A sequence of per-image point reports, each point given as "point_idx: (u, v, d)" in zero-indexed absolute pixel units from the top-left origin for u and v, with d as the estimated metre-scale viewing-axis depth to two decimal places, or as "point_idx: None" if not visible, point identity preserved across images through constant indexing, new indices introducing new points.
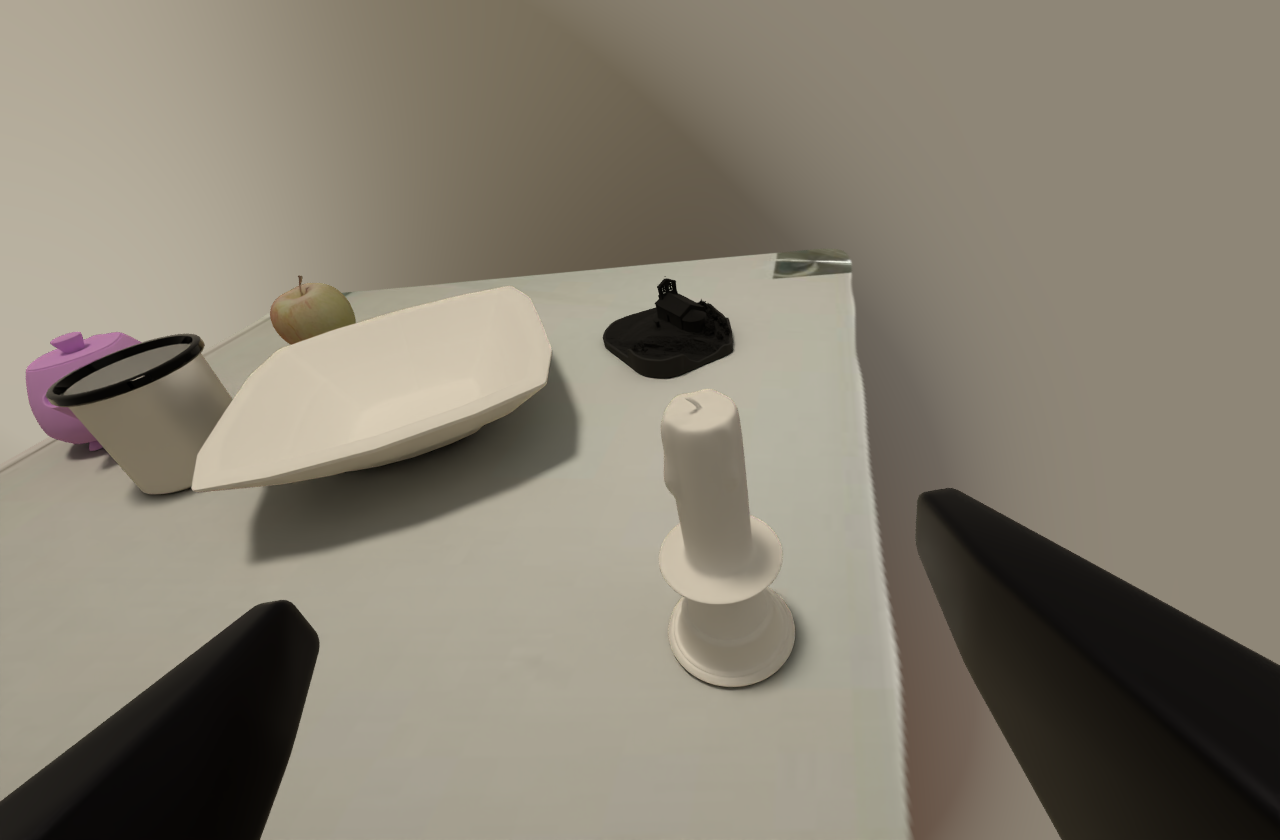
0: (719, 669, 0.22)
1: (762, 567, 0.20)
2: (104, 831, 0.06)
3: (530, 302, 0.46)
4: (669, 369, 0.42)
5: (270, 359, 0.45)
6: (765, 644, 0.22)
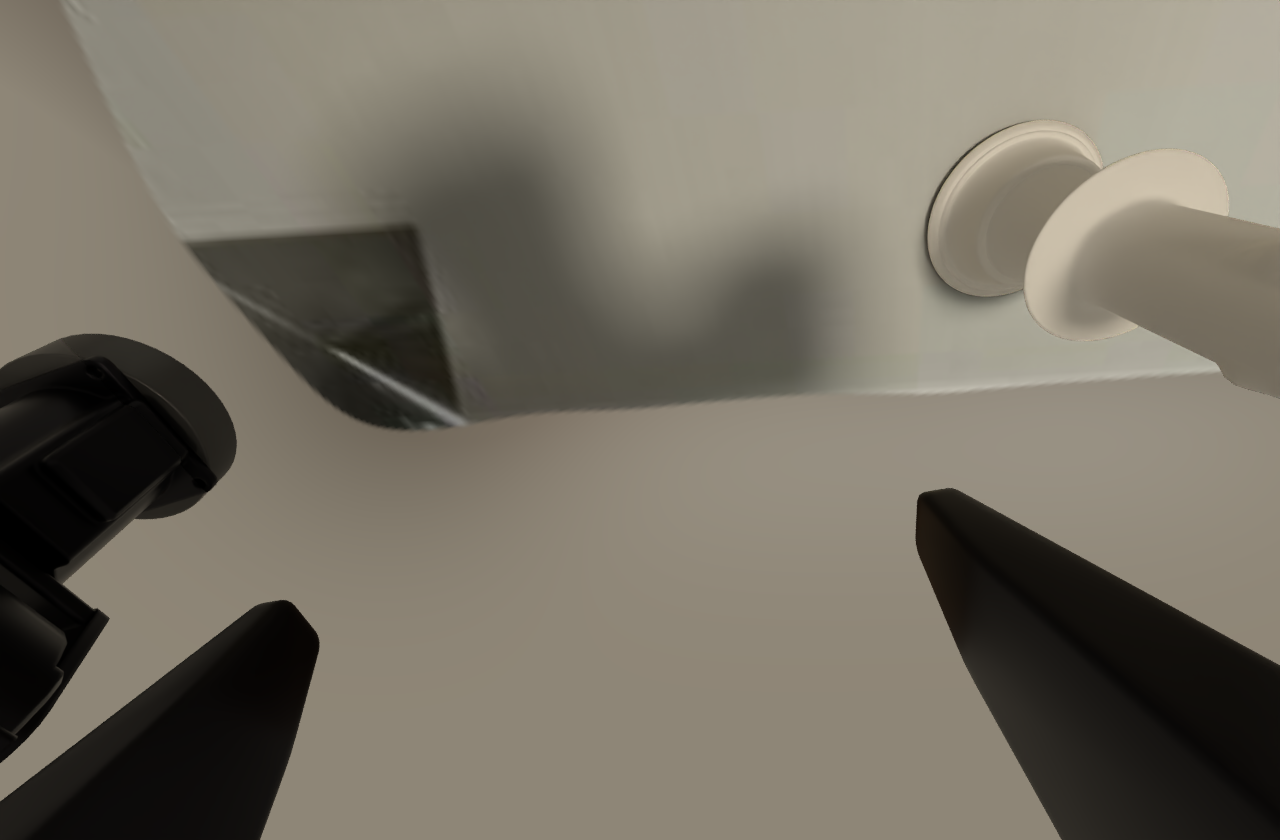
0: (950, 217, 0.18)
1: (1077, 319, 0.15)
2: (104, 831, 0.06)
3: None
4: None
5: None
6: (977, 274, 0.18)
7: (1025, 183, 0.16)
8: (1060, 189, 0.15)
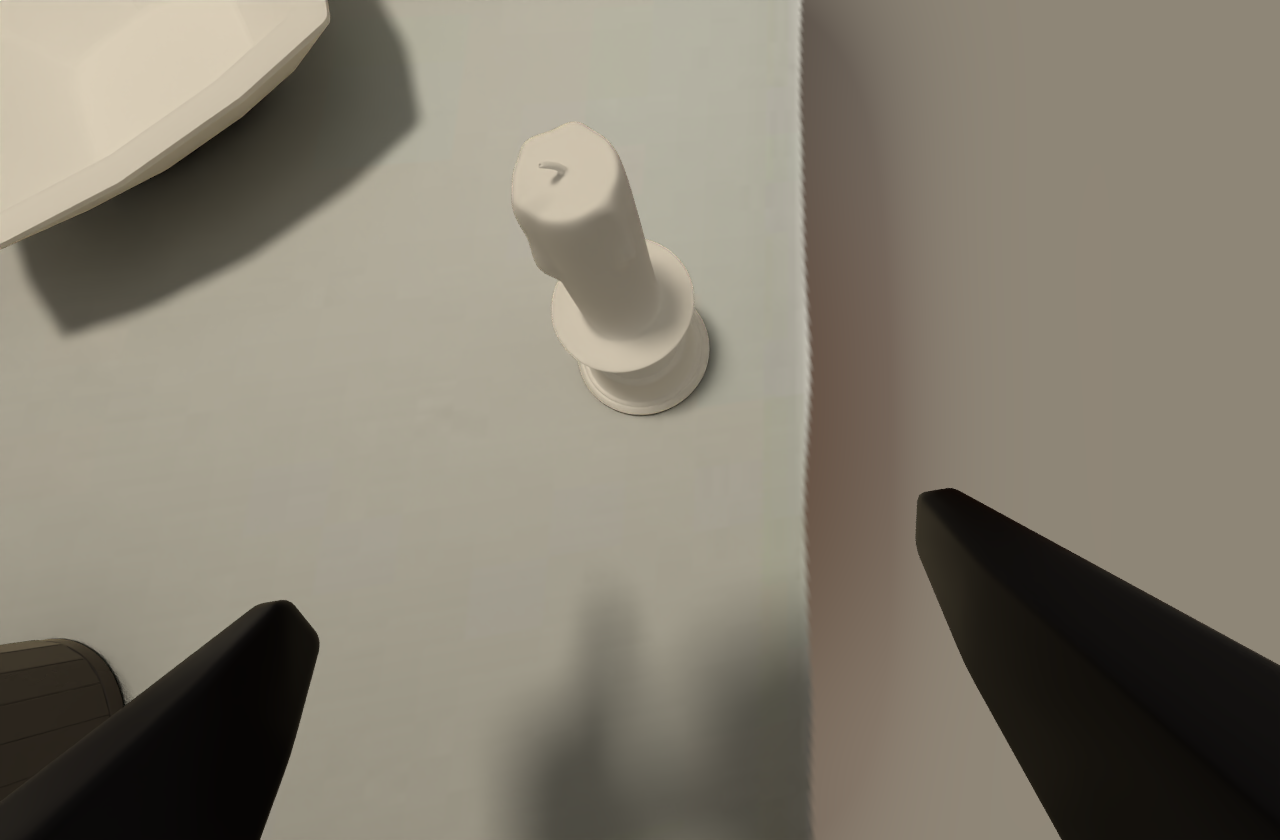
0: (635, 401, 0.22)
1: (671, 319, 0.18)
2: (104, 831, 0.06)
3: None
4: None
5: None
6: (679, 372, 0.21)
7: None
8: None
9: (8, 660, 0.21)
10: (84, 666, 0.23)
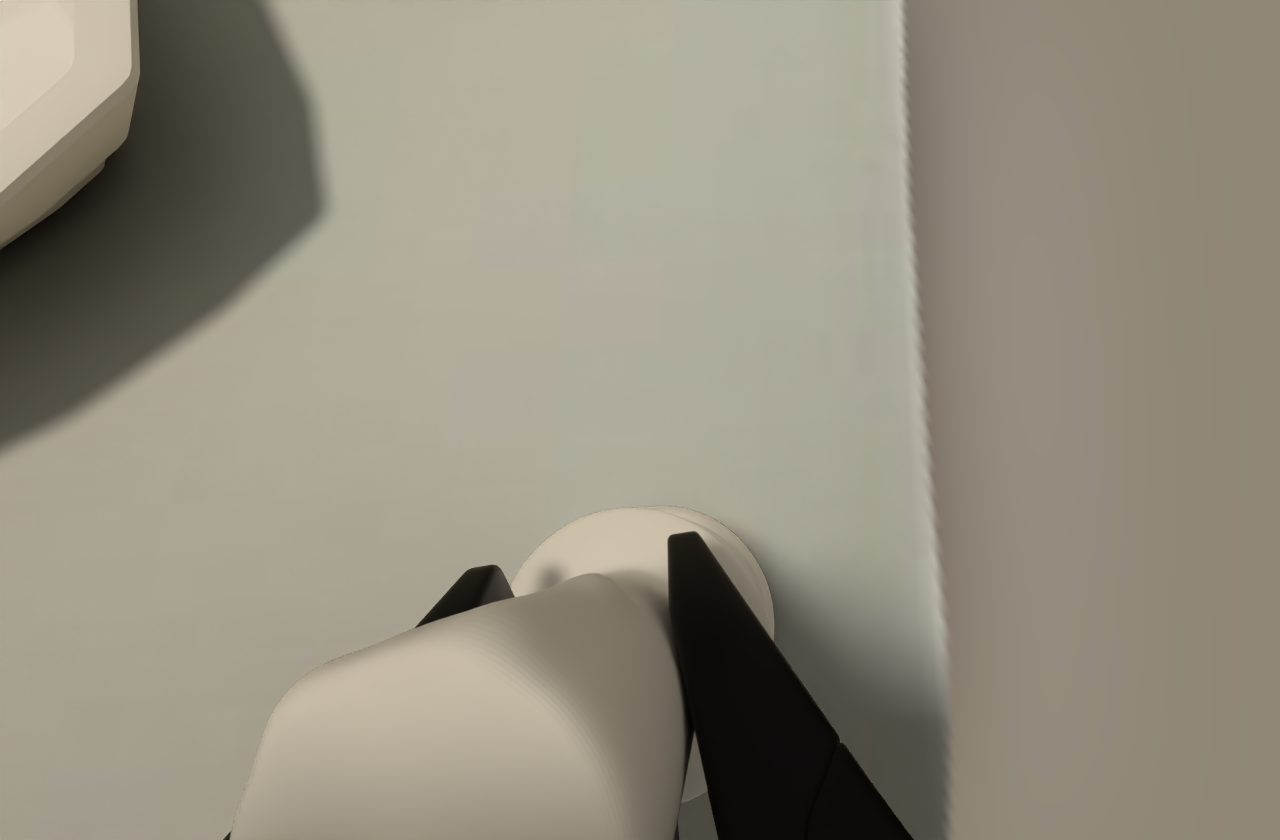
0: None
1: None
2: None
3: None
4: None
5: None
6: None
7: None
8: None
9: None
10: None
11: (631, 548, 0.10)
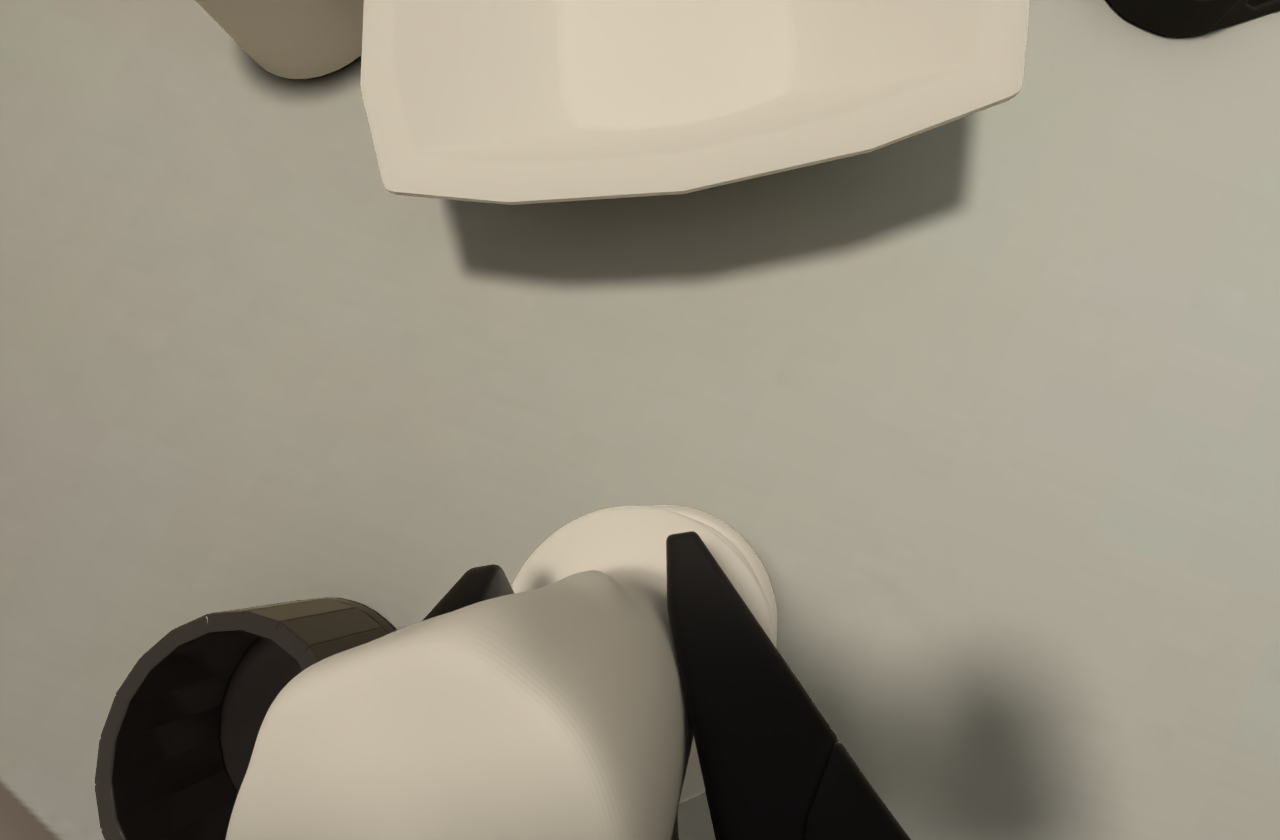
0: None
1: None
2: None
3: None
4: (1190, 20, 0.21)
5: None
6: None
7: None
8: None
9: None
10: None
11: (632, 546, 0.10)
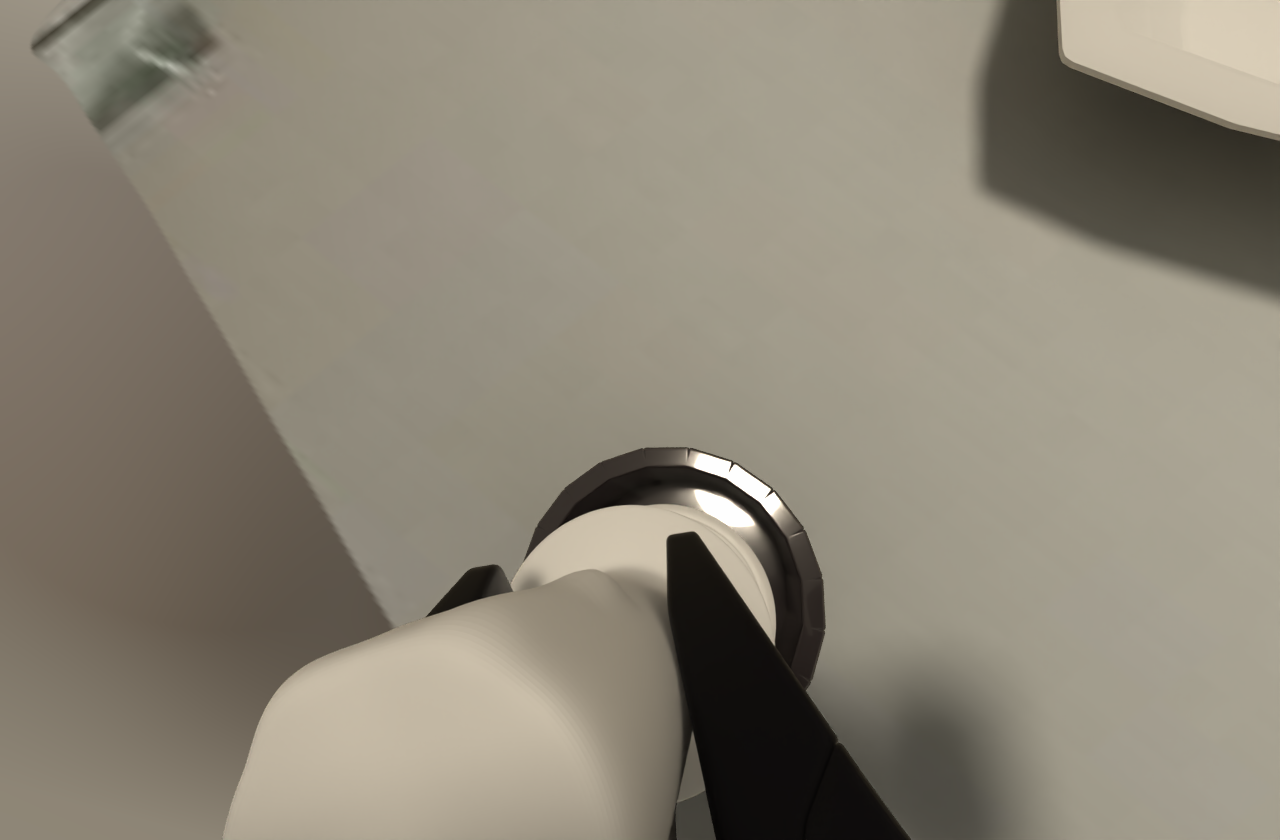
0: None
1: None
2: None
3: None
4: None
5: None
6: None
7: None
8: None
9: None
10: None
11: (631, 545, 0.10)
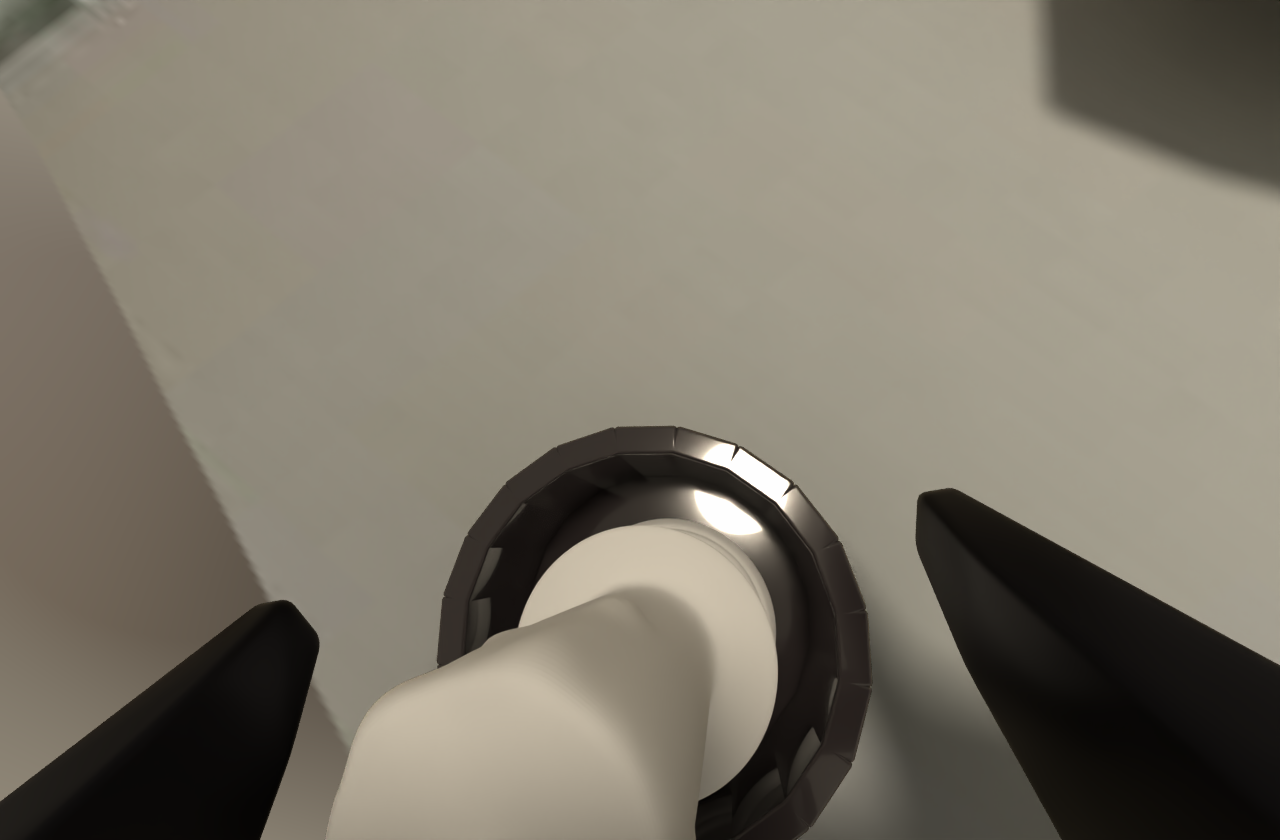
0: None
1: (737, 709, 0.09)
2: (104, 831, 0.06)
3: None
4: None
5: None
6: None
7: None
8: None
9: None
10: None
11: (642, 564, 0.10)
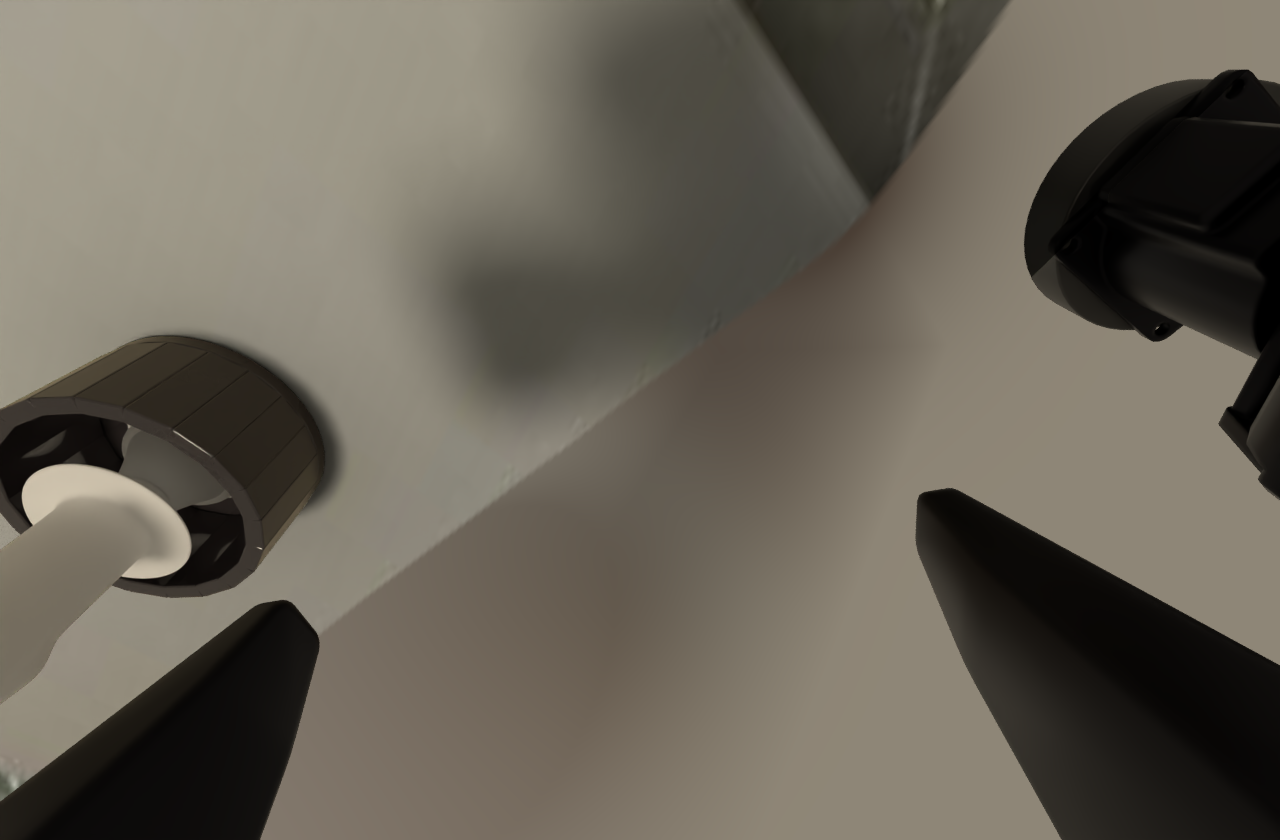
0: None
1: (98, 484, 0.17)
2: (104, 831, 0.06)
3: None
4: None
5: None
6: None
7: (217, 495, 0.21)
8: (188, 505, 0.20)
9: (59, 379, 0.18)
10: (136, 345, 0.19)
11: None
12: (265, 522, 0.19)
